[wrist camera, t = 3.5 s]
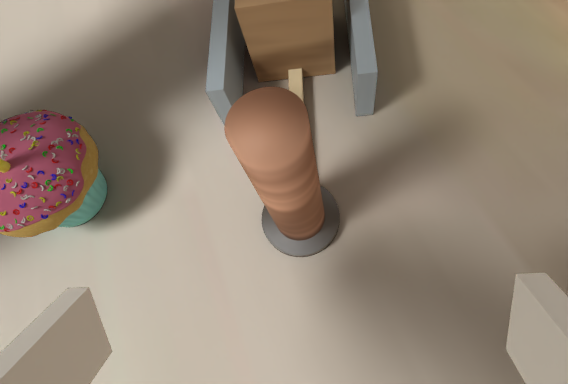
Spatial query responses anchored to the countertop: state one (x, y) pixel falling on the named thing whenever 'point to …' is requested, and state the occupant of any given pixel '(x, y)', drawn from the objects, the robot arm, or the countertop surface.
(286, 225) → the tethered block
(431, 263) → the countertop surface
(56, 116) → the cupcake
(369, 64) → the lane
